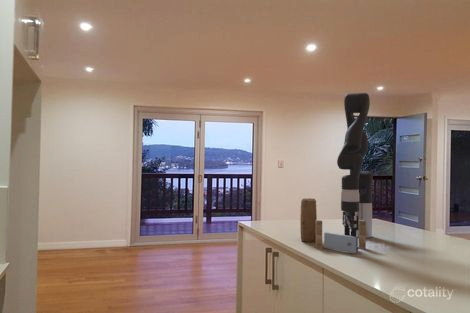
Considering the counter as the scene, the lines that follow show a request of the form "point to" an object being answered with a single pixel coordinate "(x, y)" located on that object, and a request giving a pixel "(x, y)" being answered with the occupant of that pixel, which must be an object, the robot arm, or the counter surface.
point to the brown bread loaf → (308, 220)
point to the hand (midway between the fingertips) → (350, 237)
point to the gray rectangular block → (356, 243)
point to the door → (340, 242)
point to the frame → (360, 234)
